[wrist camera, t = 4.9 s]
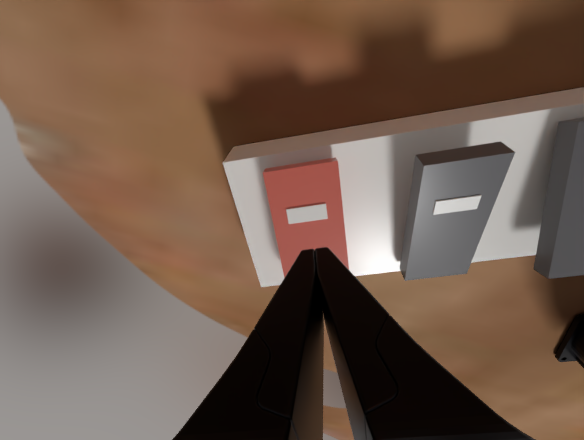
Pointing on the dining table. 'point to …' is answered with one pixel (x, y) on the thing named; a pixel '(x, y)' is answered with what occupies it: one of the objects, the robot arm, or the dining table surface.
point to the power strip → (408, 178)
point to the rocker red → (306, 209)
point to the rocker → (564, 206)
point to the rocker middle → (451, 207)
